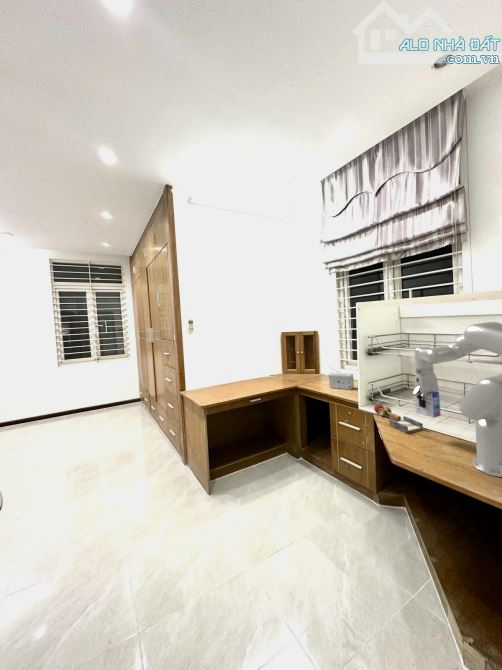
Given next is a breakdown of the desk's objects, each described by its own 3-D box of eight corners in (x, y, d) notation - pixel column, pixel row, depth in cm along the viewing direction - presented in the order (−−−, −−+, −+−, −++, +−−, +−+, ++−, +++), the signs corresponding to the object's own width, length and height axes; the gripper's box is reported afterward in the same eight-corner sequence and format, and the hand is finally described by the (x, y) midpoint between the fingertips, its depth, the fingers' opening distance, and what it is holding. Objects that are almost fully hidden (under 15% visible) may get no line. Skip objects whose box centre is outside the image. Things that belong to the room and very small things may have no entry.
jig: (422, 430, 143) (422, 423, 142) (406, 433, 140) (406, 427, 140) (405, 422, 154) (404, 416, 154) (389, 425, 152) (389, 419, 151)
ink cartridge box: (441, 415, 128) (439, 387, 128) (434, 418, 126) (432, 389, 126) (422, 410, 138) (419, 384, 137) (415, 412, 136) (412, 385, 135)
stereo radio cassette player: (354, 388, 231) (352, 366, 230) (351, 390, 224) (350, 368, 223) (331, 386, 244) (329, 365, 242) (328, 388, 237) (326, 367, 236)
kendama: (404, 421, 159) (380, 408, 175) (403, 412, 157) (379, 400, 174) (395, 426, 156) (371, 413, 173) (394, 417, 155) (370, 404, 171)
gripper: (417, 374, 125) (420, 411, 126) (445, 369, 130) (447, 405, 130) (404, 372, 133) (407, 406, 133) (431, 367, 137) (433, 401, 137)
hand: (427, 405), depth 132 cm, fingers closed on ink cartridge box, 5 cm apart
